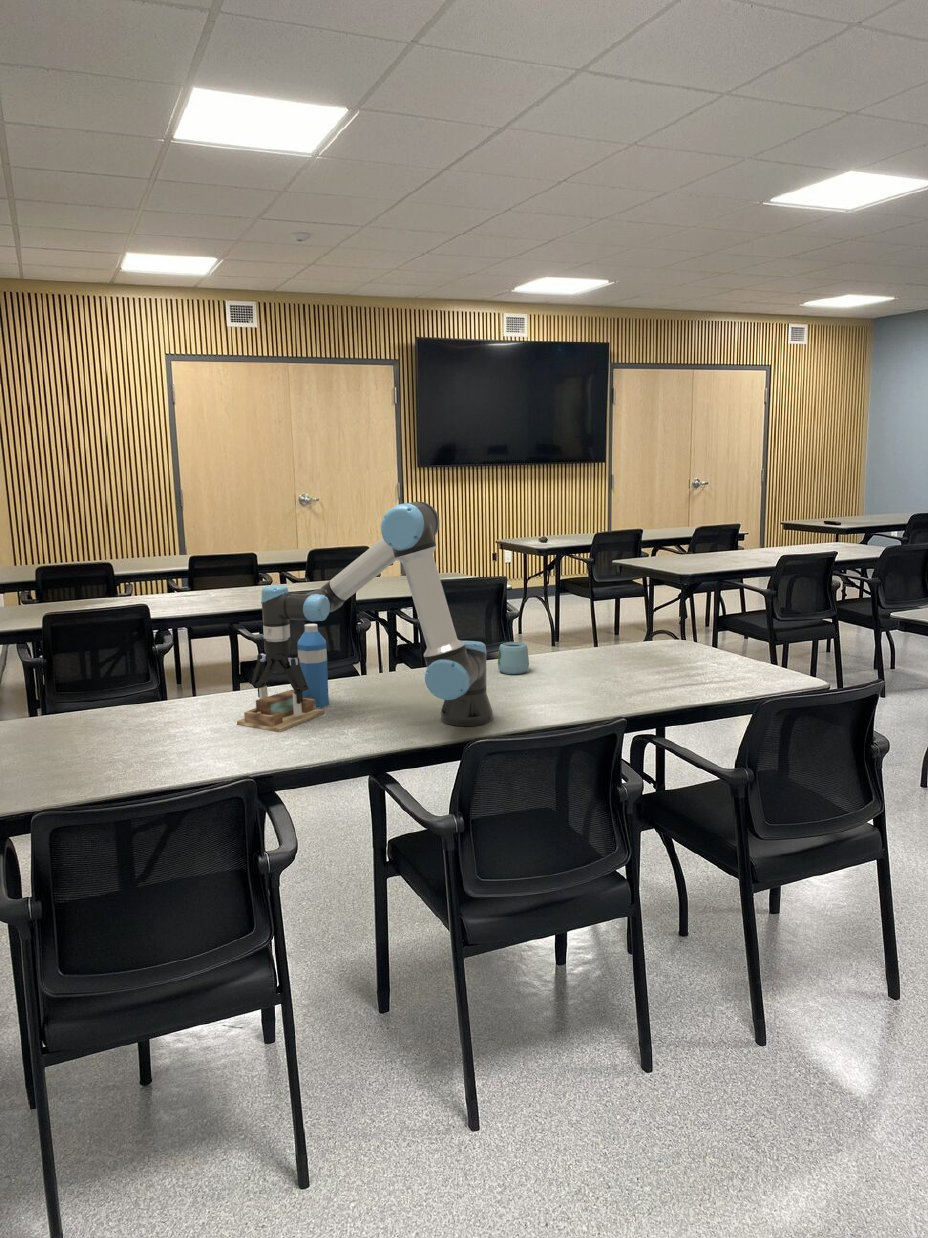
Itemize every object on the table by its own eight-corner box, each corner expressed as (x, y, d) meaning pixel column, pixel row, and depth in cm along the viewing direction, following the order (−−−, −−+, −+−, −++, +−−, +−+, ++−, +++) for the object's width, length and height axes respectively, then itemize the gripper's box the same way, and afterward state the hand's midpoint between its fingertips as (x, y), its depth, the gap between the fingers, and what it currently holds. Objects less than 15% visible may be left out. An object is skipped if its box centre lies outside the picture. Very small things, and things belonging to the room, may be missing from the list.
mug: (494, 666, 324) (493, 639, 322) (524, 664, 325) (524, 637, 324) (500, 676, 310) (500, 648, 308) (531, 675, 311) (531, 646, 309)
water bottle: (323, 708, 274) (320, 628, 269) (294, 707, 275) (290, 627, 271) (333, 700, 283) (330, 622, 278) (305, 699, 284) (302, 621, 280)
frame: (292, 708, 271) (291, 689, 269) (303, 711, 268) (302, 691, 267) (256, 720, 259) (255, 700, 258) (267, 723, 257) (266, 702, 256)
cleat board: (324, 713, 269) (323, 698, 268) (280, 732, 252) (279, 716, 251) (282, 706, 276) (281, 692, 275) (236, 724, 259) (236, 709, 258)
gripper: (236, 637, 262) (240, 709, 266) (301, 645, 250) (305, 720, 255) (253, 633, 268) (257, 702, 272) (318, 640, 257) (321, 713, 261)
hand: (280, 711), depth 263 cm, fingers open, 12 cm apart
